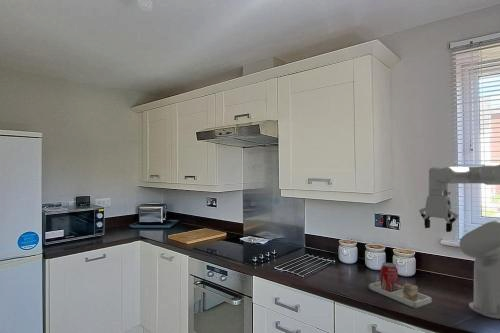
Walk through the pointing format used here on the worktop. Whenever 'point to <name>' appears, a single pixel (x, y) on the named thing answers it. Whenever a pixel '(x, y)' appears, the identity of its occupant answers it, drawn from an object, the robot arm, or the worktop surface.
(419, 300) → the organiser tray
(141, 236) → the worktop surface
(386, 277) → the soda can
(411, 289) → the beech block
